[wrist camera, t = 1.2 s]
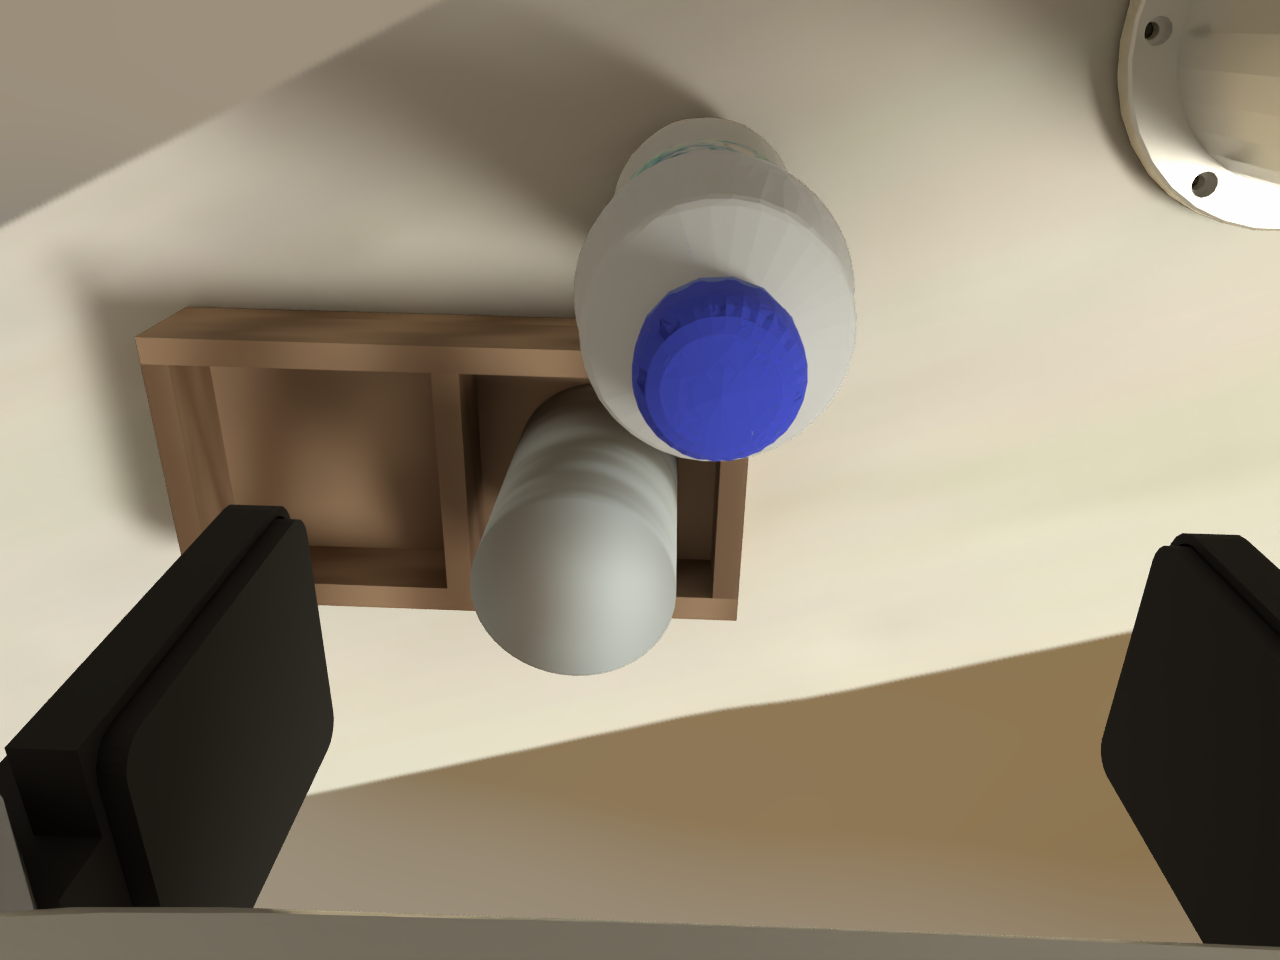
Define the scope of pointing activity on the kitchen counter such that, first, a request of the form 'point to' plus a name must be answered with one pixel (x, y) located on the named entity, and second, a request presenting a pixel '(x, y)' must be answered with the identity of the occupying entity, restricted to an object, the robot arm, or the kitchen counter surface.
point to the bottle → (714, 296)
